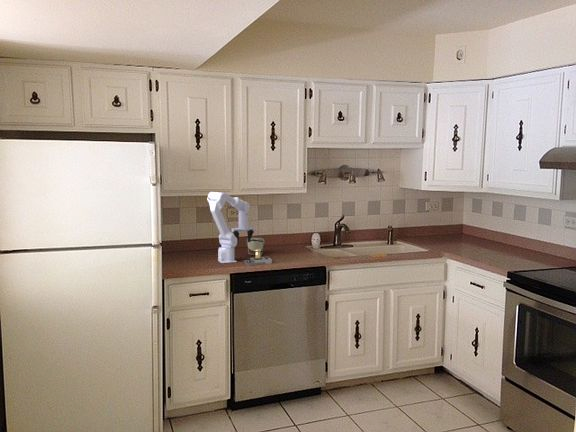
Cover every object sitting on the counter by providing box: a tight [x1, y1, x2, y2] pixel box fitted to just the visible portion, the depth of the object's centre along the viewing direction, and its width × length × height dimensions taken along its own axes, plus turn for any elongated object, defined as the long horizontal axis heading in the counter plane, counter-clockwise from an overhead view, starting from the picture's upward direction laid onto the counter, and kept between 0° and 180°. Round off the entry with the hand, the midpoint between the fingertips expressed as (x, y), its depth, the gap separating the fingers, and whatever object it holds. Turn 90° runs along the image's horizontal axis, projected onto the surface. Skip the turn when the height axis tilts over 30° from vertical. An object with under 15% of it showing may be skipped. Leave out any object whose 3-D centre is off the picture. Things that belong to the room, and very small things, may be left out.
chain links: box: [243, 256, 273, 266], centre depth 306 cm, size 15×8×3 cm, turn 113°
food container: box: [246, 237, 266, 256], centre depth 332 cm, size 12×6×10 cm, turn 70°
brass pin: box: [254, 249, 261, 260], centre depth 305 cm, size 4×4×8 cm
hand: (243, 242), depth 320 cm, fingers open, 7 cm apart
